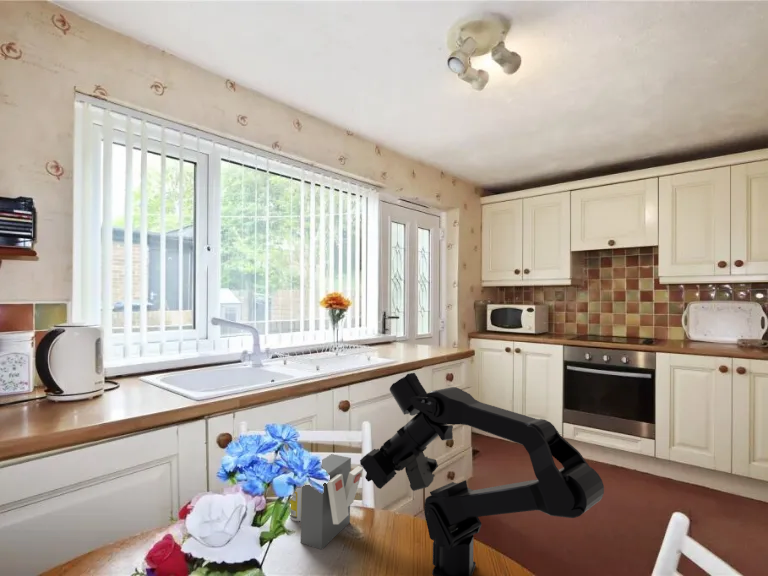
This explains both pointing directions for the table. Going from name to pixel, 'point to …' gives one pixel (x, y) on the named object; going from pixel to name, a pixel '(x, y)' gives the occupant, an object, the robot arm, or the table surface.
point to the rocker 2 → (352, 484)
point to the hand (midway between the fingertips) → (367, 479)
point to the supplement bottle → (296, 505)
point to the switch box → (322, 506)
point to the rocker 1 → (337, 499)
